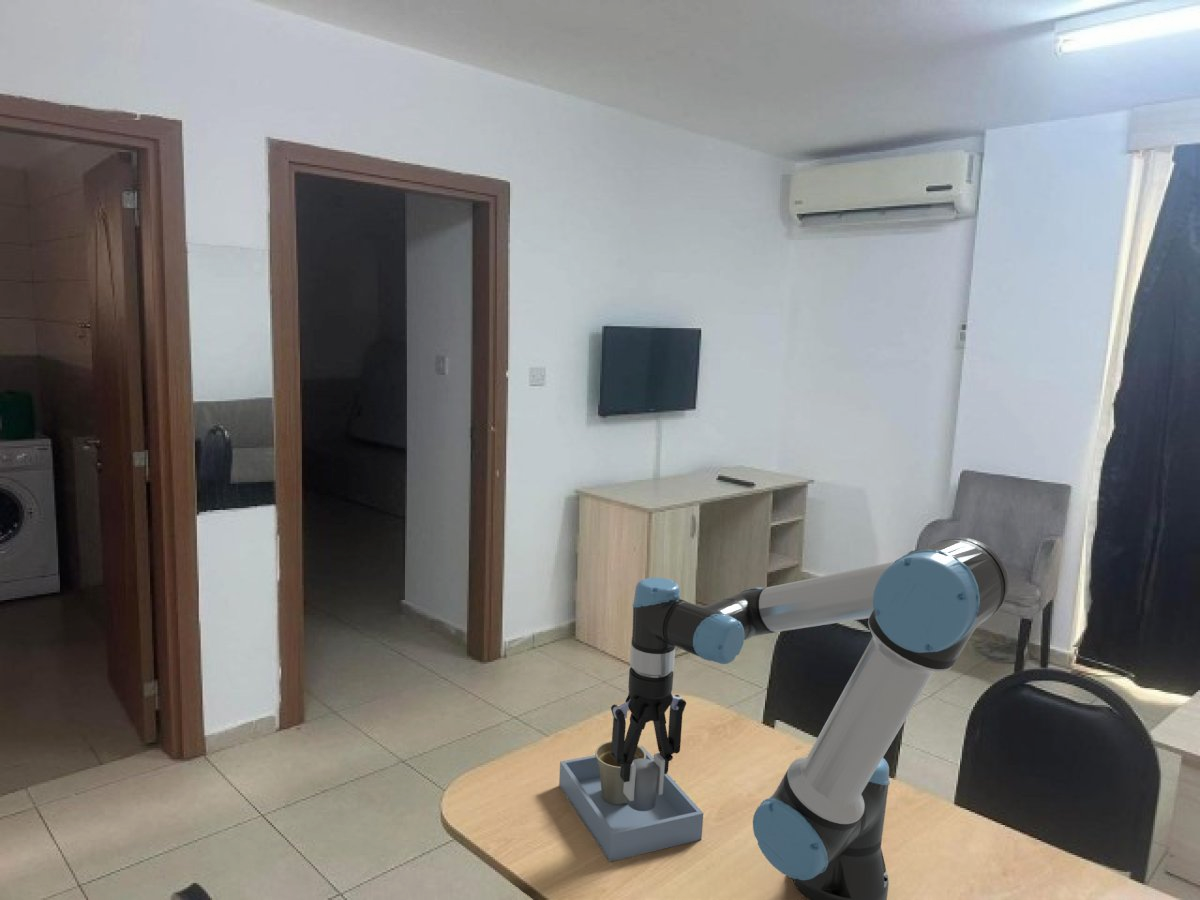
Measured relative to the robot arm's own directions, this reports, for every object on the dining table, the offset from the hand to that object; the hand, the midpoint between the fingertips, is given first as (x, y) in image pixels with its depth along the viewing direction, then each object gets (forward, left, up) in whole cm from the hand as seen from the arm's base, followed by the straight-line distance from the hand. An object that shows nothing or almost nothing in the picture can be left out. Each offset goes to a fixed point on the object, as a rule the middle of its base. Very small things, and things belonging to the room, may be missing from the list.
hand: (642, 793), depth 144 cm
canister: (0, 0, -2) cm, 2 cm away
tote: (+6, 0, -7) cm, 9 cm away
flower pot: (+10, 0, -7) cm, 12 cm away
